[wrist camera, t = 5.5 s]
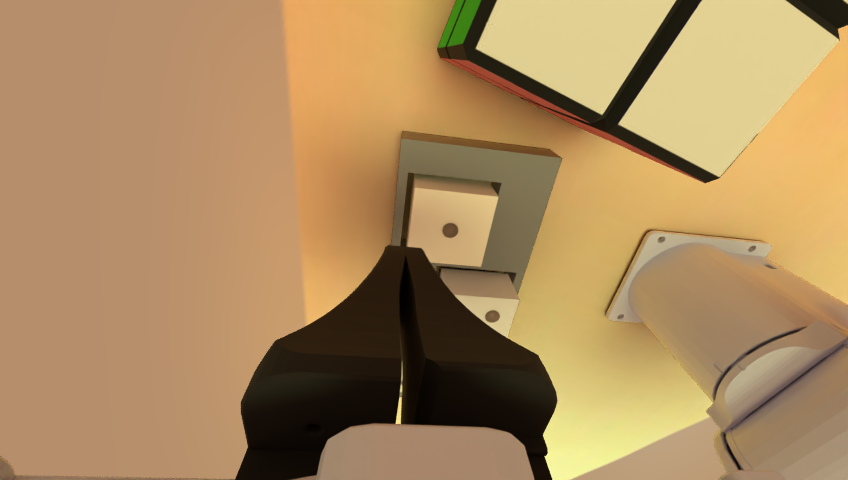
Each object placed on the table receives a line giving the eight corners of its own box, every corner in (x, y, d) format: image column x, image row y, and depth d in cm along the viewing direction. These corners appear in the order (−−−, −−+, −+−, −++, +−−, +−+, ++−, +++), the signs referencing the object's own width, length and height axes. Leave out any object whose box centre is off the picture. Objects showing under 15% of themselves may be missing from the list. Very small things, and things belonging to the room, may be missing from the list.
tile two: (508, 273, 23) (520, 301, 20) (492, 324, 25) (502, 354, 23) (441, 268, 23) (445, 295, 20) (431, 320, 25) (434, 350, 22)
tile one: (487, 180, 21) (499, 197, 18) (473, 244, 23) (481, 267, 21) (414, 171, 20) (414, 188, 18) (406, 238, 23) (406, 261, 20)
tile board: (549, 149, 21) (562, 158, 19) (478, 380, 31) (482, 400, 29) (402, 131, 20) (401, 138, 18) (378, 375, 30) (376, 395, 28)
